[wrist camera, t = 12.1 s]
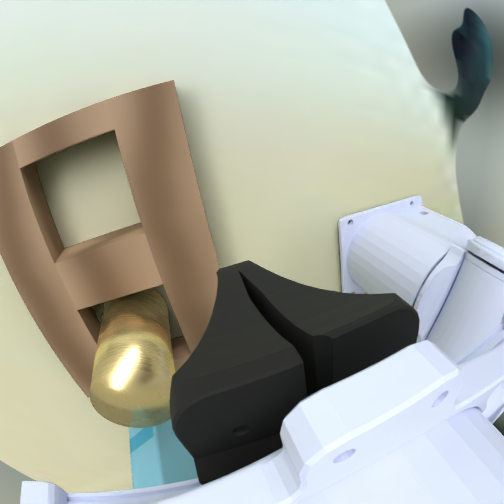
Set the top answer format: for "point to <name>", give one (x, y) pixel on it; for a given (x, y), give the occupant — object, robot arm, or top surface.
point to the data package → (159, 457)
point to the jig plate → (115, 243)
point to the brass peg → (134, 361)
